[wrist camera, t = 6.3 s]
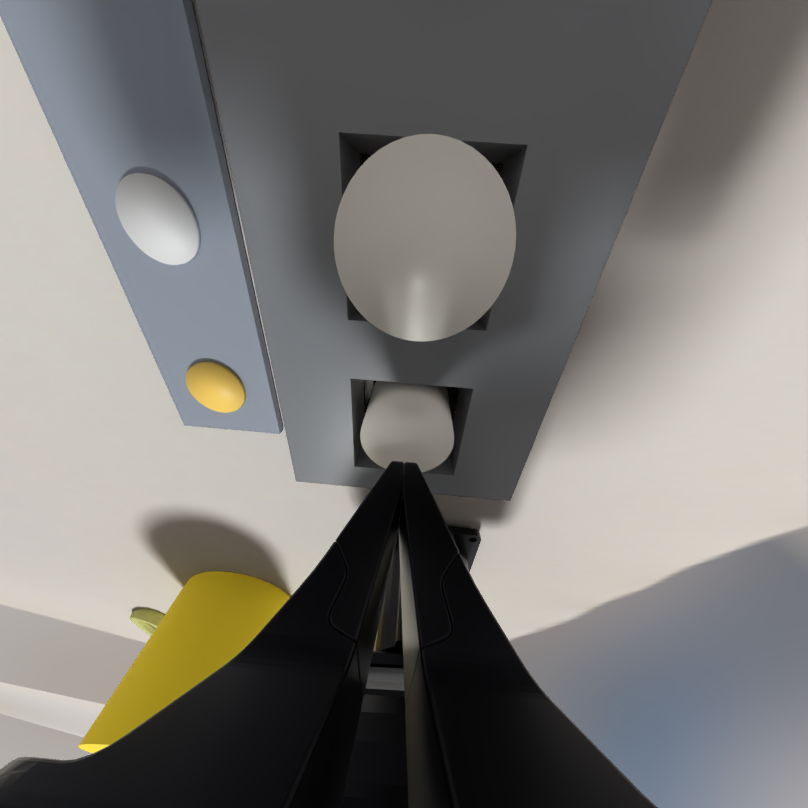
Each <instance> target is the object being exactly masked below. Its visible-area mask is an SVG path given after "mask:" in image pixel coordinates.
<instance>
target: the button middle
mask: <svg viewBox="0 0 808 808" xmlns="http://www.w3.org/2000/svg"><path fill="white" fill-rule="evenodd" d="M515 246H516V222H515V216H514V210H513V205H512V202H511V199H510V196H509V193H508V191H507V188H506V186H505V184H504V182H503V180H502V178H501V177H500V175H499V174H498V172H497V171H496V169H495V168H494V167H493V165H492V164H491V163H490V162H489V161H488V160H487V159H486V158H485V157H484V156H483V155H482V154H481V153H479V152H478V151H477V150H475V149H474V148H473V147H471V146H469V145H467V144H466V143H464V142H462V141H460V140H457V139H454V138H451V137H448V136H443V135H437V134H418V135H413V136H408V137H404V138H401V139H399V140H396V141H393V142H391V143H389V144H388V145H386V146H384V147H383V148H381V149H379V150H378V151H377V152H376V153H374V154H373V155H372V156H371V157H369V158H368V159H367V160H366V161H365V162H364V164H363V165H362V166H361V167H360V168H359V169H358V170H357V172H356V173H355V175H354V176H353V178H352V179H351V180H350V182H349V184H348V186H347V188H346V190H345V192H344V194H343V196H342V199H341V202H340V205H339V208H338V212H337V216H336V220H335V229H334V254H335V262H336V266H337V270H338V274H339V277H340V280H341V283H342V285H343V287H344V289H345V292H346V294H347V296H348V297H349V299H350V300H351V302H352V303H353V305H354V306H355V308H356V309H357V310H358V311H359V312H360V314H361V315H362V316H363V317H364V318H365V319H367V320H368V321H369V322H370V323H371V324H373V325H374V326H375V327H377V328H378V329H380V330H382V331H383V332H385V333H387V334H389V335H392V336H394V337H397V338H401V339H404V340H410V341H434V340H439V339H443V338H447V337H450V336H452V335H455V334H457V333H459V332H461V331H463V330H465V329H466V328H468V327H469V326H471V325H472V324H474V323H475V322H476V321H477V320H478V319H480V318H481V317H482V316H483V315H484V314H485V313H486V312H487V311H488V310H489V308H490V307H491V306H492V305H493V303H494V302H495V301H496V299H497V298H498V296H499V294H500V293H501V291H502V289H503V287H504V285H505V283H506V281H507V278H508V276H509V273H510V270H511V267H512V263H513V259H514V253H515Z"/></svg>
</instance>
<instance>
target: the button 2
mask: <svg viewBox="0 0 808 808" xmlns="http://www.w3.org/2000/svg"><path fill="white" fill-rule="evenodd" d="M360 440H361V444H362V447H363V449H364V451H365V452H366V454H367V455H368V456H369V458H370V459H371V460H372V461H374V462H375V463H376V464H378V465H379V466H381V467H383V468H385V469H386V468H387V467H388V465H389V464H390V462H391V461H402V462H404V463H405V462H414V463H417V464H418V466H419V468H420V470H421V472H425V471H428V470H431V469H433V468H435V467H437V466H438V465H440V464H441V463H442V462H444V461H445V460H446V459H447V457H448V456H449V455H450V453H451V451H452V449H453V445H454V431H453V424H452V416H451V409H450V402H449V394H448V390H447V387H446V386H434V385H422V384H410V383H398V382H386V381H376V383H375V385H374V388H373V391H372V394H371V398H370V401H369V404H368V407H367V411H366V414H365V417H364V420H363V423H362V427H361V431H360ZM403 473H404V471H403Z"/></svg>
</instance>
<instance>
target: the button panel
mask: <svg viewBox="0 0 808 808" xmlns="http://www.w3.org/2000/svg"><path fill="white" fill-rule="evenodd" d="M195 2H196V7H197V11H198V16H199V21H200V26H201V30H202V35H203V40H204V45H205V49H206V54H207V59H208V64H209V69H210V73H211V78H212V83H213V88H214V92H215V97H216V102H217V107H218V111H219V116H220V121H221V126H222V130H223V135H224V140H225V145H226V149H227V154H228V159H229V164H230V169H231V173H232V178H233V183H234V188H235V192H236V197H237V202H238V207H239V211H240V216H241V221H242V226H243V230H244V235H245V240H246V245H247V249H248V254H249V259H250V264H251V269H252V273H253V278H254V283H255V288H256V292H257V297H258V302H259V307H260V311H261V316H262V321H263V326H264V330H265V335H266V340H267V345H268V349H269V354H270V359H271V364H272V369H273V373H274V378H275V383H276V388H277V392H278V397H279V402H280V407H281V411H282V416H283V421H284V426H285V430H286V435H287V440H288V445H289V449H290V454H291V459H292V464H293V469H294V473H295V478H296V481H299V482H309V483H320V484H331V485H342V486H353V487H364V488H373V487H374V485H375V484H376V482H377V481H378V479H379V478H380V477H381V475H382V474H383V472H384V471H385V470H386V469H385V468H383V467H381V466H379V465H378V464H376V463H375V462H374V461H372V460H371V459H370V458H369V456H368V455H367V454H366V452H365V451H364V449H363V447H362V444H361V440H360V431H361V427H362V423H363V420H364V380H374V381H386V382H398V383H410V384H422V385H434V386H446V387H458V388H460V389H459V394H458V399H457V404H456V410H455V415H454V420H453V431H454V445H453V449H452V451H451V453H450V455H449V456H448V457H447V459H446V460H445V461H444V462H442V463H441V464H440V465H438V466H437V467H435V468H433V469H431V470H428V471H425V472H422V474H423V477H424V479H425V481H426V483H427V485H428V487H429V489H430V491H431V493H432V494H441V495H452V496H463V497H474V498H485V499H496V500H506V501H510V500H511V498H512V495H513V493H514V490H515V488H516V485H517V483H518V480H519V478H520V475H521V473H522V470H523V468H524V465H525V463H526V460H527V458H528V455H529V453H530V450H531V448H532V446H533V443H534V441H535V438H536V436H537V433H538V431H539V428H540V426H541V423H542V421H543V418H544V416H545V413H546V411H547V408H548V406H549V403H550V401H551V398H552V396H553V393H554V391H555V389H556V386H557V384H558V381H559V379H560V376H561V374H562V371H563V369H564V366H565V364H566V361H567V359H568V356H569V354H570V351H571V349H572V346H573V344H574V341H575V339H576V337H577V334H578V332H579V329H580V327H581V324H582V322H583V319H584V317H585V314H586V312H587V309H588V307H589V304H590V302H591V299H592V297H593V294H594V292H595V289H596V287H597V284H598V282H599V280H600V277H601V275H602V272H603V270H604V267H605V265H606V262H607V260H608V257H609V255H610V252H611V250H612V247H613V245H614V242H615V240H616V237H617V235H618V232H619V230H620V227H621V225H622V223H623V220H624V218H625V215H626V213H627V210H628V208H629V205H630V203H631V200H632V198H633V195H634V193H635V190H636V188H637V185H638V183H639V180H640V178H641V175H642V173H643V171H644V168H645V166H646V163H647V161H648V158H649V156H650V153H651V151H652V148H653V146H654V143H655V141H656V138H657V136H658V133H659V131H660V128H661V126H662V123H663V121H664V118H665V116H666V114H667V111H668V109H669V106H670V104H671V101H672V99H673V96H674V94H675V91H676V89H677V86H678V84H679V81H680V79H681V76H682V74H683V71H684V69H685V66H686V64H687V62H688V59H689V57H690V54H691V52H692V49H693V47H694V44H695V42H696V39H697V37H698V34H699V32H700V29H701V27H702V24H703V22H704V19H705V17H706V14H707V12H708V9H709V7H710V5H711V2H712V0H195ZM418 134H437V135H443V136H448V137H451V138H454V139H457V140H460V141H462V142H464V143H466V144H467V145H469V146H471V147H473V148H474V149H475V150H477V151H478V152H479V153H481V154H482V155H483V156H484V157H485V158H486V159H487V160H488V161H489V162H490V163H503V165H502V171H501V176H500V177H501V178H502V180H503V182H504V184H505V186H506V188H507V191H508V193H509V196H510V199H511V202H512V205H513V210H514V216H515V222H516V246H515V253H514V259H513V263H512V267H511V270H510V273H509V276H508V278H507V281H506V283H505V285H504V287H503V289H502V291H501V293H500V294H499V296H498V298H497V299H496V301H495V302H494V303H493V305H492V306H491V307H490V308H489V310H488V311H487V312H486V313H485V314H484V315H483V316H482V317H481V318H480V319H478V320H477V321H476V322H475V323H474V324H472V325H471V326H469V327H468V328H466V329H465V330H463V331H461V332H459V333H457V334H455V335H452V336H450V337H447V338H443V339H439V340H434V341H410V340H404V339H401V338H397V337H394V336H392V335H389V334H387V333H385V332H383V331H382V330H380V329H378V328H377V327H375V326H374V325H373V324H371V323H370V322H369V321H368V320H367V319H365V318H364V317H363V316H362V315H361V314H360V312H359V311H358V310H357V309H356V308H355V306H354V305H353V303H352V302H351V300H350V299H349V297H348V296H347V294H346V292H345V289H344V287H343V285H342V283H341V280H340V277H339V274H338V270H337V266H336V262H335V254H334V229H335V220H336V216H337V212H338V208H339V205H340V202H341V199H342V196H343V194H344V192H345V190H346V188H347V186H348V184H349V182H350V180H351V179H352V178H353V176H354V175H355V173H356V172H357V170H358V169H359V168H360V154H371V155H373V154H374V153H376V152H377V151H378V150H379V149H381V148H383V147H384V146H386V145H388V144H389V143H391V142H393V141H396V140H399V139H401V138H404V137H408V136H413V135H418ZM402 485H403V483H402Z"/></svg>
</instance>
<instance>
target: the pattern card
mask: <svg viewBox="0 0 808 808" xmlns="http://www.w3.org/2000/svg"><path fill="white" fill-rule="evenodd" d="M0 16H1V18H2V21H3V23H4V25H5V27H6V30H7V32H8V34H9V36H10V38H11V41H12V43H13V45H14V47H15V50H16V52H17V54H18V56H19V58H20V61H21V63H22V65H23V67H24V70H25V72H26V74H27V76H28V78H29V81H30V83H31V85H32V87H33V90H34V92H35V94H36V96H37V98H38V101H39V103H40V105H41V107H42V110H43V112H44V114H45V116H46V118H47V121H48V123H49V125H50V127H51V130H52V132H53V134H54V136H55V139H56V141H57V143H58V145H59V147H60V150H61V152H62V154H63V156H64V159H65V161H66V163H67V165H68V167H69V170H70V172H71V174H72V176H73V179H74V181H75V183H76V185H77V187H78V190H79V192H80V194H81V196H82V199H83V201H84V203H85V205H86V207H87V210H88V212H89V214H90V216H91V219H92V221H93V223H94V225H95V228H96V230H97V232H98V234H99V236H100V239H101V241H102V243H103V245H104V248H105V250H106V252H107V254H108V256H109V259H110V261H111V263H112V265H113V268H114V270H115V272H116V274H117V276H118V279H119V281H120V283H121V285H122V288H123V290H124V292H125V294H126V296H127V299H128V301H129V303H130V305H131V308H132V310H133V312H134V314H135V316H136V319H137V321H138V323H139V325H140V328H141V330H142V332H143V334H144V337H145V339H146V341H147V343H148V345H149V348H150V350H151V352H152V354H153V357H154V359H155V361H156V363H157V365H158V368H159V370H160V372H161V374H162V377H163V379H164V381H165V383H166V385H167V388H168V390H169V392H170V394H171V397H172V399H173V401H174V403H175V405H176V408H177V410H178V412H179V414H180V417H181V419H182V421H183V423H184V425H186V426H198V427H209V428H220V429H232V430H243V431H254V432H266V433H277V434H280V433H281V432H282V430H283V425H282V420H281V416H280V411H279V407H278V402H277V397H276V393H275V388H274V383H273V379H272V374H271V369H270V365H269V360H268V355H267V351H266V346H265V341H264V337H263V332H262V327H261V323H260V318H259V313H258V309H257V304H256V299H255V295H254V290H253V285H252V281H251V276H250V271H249V267H248V262H247V257H246V253H245V248H244V243H243V239H242V234H241V229H240V225H239V220H238V215H237V211H236V206H235V201H234V197H233V192H232V187H231V183H230V178H229V173H228V169H227V164H226V159H225V155H224V150H223V145H222V141H221V136H220V131H219V127H218V122H217V118H216V113H215V108H214V104H213V99H212V94H211V90H210V85H209V80H208V76H207V71H206V66H205V62H204V57H203V52H202V48H201V43H200V38H199V34H198V29H197V24H196V20H195V15H194V10H193V6H192V1H191V0H0Z"/></svg>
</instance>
